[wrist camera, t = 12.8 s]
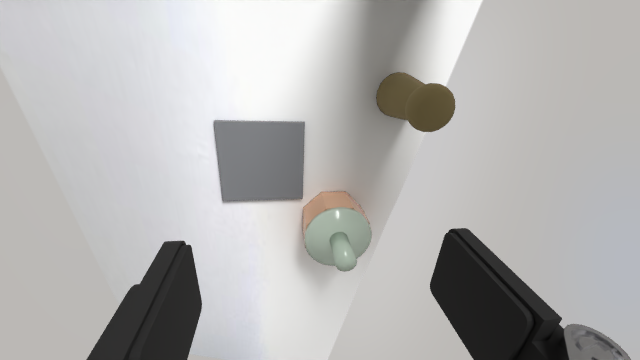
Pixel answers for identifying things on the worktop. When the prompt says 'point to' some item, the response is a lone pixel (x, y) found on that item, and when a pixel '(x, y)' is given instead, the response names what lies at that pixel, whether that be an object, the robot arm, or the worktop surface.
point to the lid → (338, 237)
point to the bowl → (328, 205)
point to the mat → (260, 159)
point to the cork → (416, 101)
